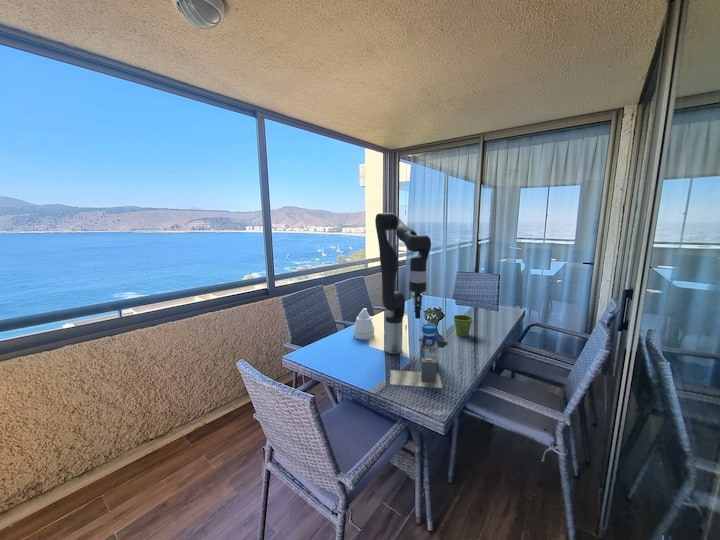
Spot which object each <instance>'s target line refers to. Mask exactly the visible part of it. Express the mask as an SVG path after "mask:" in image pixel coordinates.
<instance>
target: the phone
mask: <svg viewBox="0 0 720 540" xmlns="http://www.w3.org/2000/svg"><path fill="white" fill-rule="evenodd" d="M418 340H419V342H421V340H420V338H419V339H418ZM444 345H445V346H447V345H448V342H447V341H446V340H443V339H442V340H440V339H438V338H437V347H438V346H439V348H443V347H445V346H444Z"/></svg>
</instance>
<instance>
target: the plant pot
mask: <svg viewBox="0 0 720 540" xmlns="http://www.w3.org/2000/svg"><path fill="white" fill-rule="evenodd" d="M452 318H453V320H454V322H453V323H454V326H455V327H454V328H455V333H456V335H457V336H459V337H463V338H465V337H469V335H470V330H471V326H472V322H473V320H474V317H472V316H470V315H468V314H467V315H465V314H456V315H453V316H452Z"/></svg>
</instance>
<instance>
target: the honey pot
mask: <svg viewBox="0 0 720 540" xmlns="http://www.w3.org/2000/svg"><path fill="white" fill-rule="evenodd" d="M372 320H373V317H372V316H371V315H369V312H368V308H366V307H365V308H362V310H361V311H360V312H359V313H358V316H356V321H355V322H354V323H355V324H354V327H353V337H354V336H355V337H356V338H355V337H354V338H355V339H357V338H359V339H358V340H361V339H366V340H371V339H372V337H373V338H374V337H375V326H374V324H373V321H372ZM370 338H371V339H370Z"/></svg>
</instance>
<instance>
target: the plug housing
mask: <svg viewBox="0 0 720 540" xmlns="http://www.w3.org/2000/svg"><path fill="white" fill-rule="evenodd" d="M436 362H437V361H436V359H435V358H421V362H420V368H421V369H420V372H421V381H425V382H436V373H437V363H436Z"/></svg>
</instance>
